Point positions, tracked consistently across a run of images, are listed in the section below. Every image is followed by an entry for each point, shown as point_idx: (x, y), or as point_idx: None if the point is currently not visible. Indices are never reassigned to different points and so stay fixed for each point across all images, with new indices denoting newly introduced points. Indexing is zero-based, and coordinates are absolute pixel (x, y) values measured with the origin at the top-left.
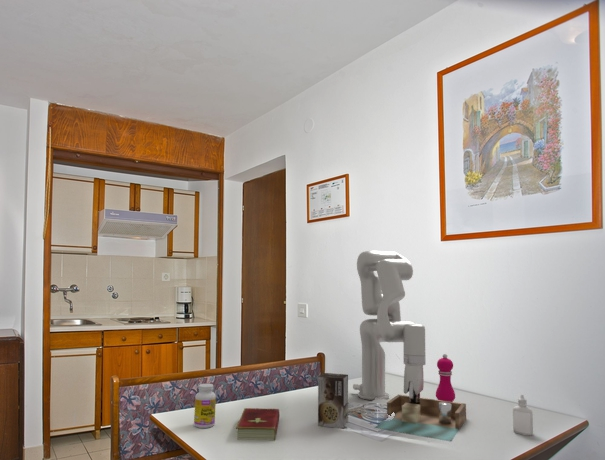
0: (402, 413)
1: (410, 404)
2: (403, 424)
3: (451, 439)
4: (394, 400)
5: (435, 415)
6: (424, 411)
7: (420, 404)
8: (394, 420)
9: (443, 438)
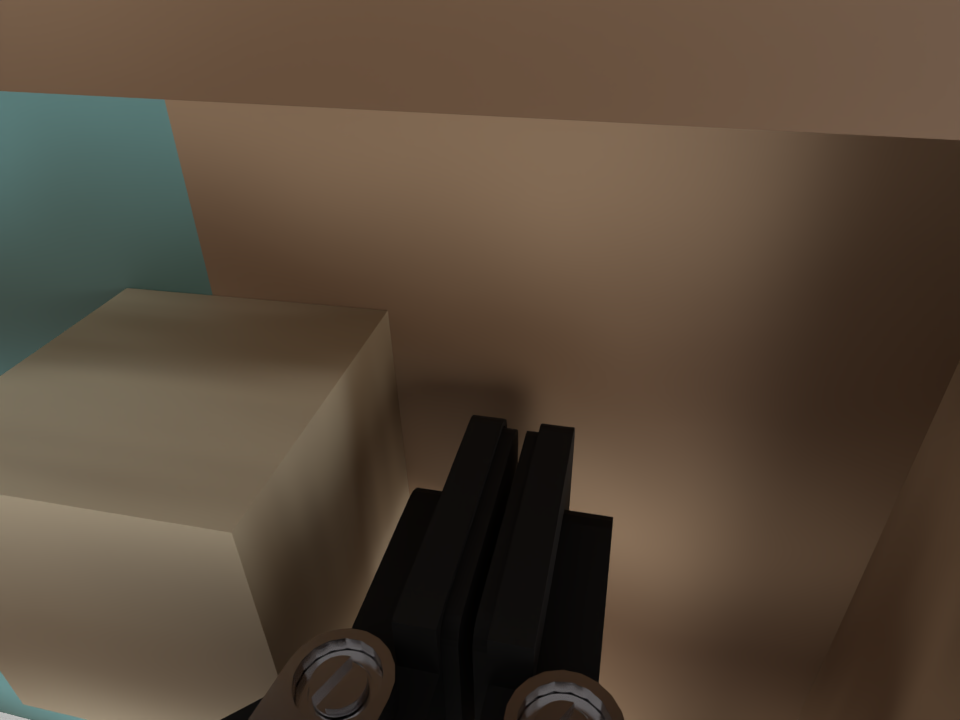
0: (22, 374)
1: (156, 626)
2: (16, 335)
3: (34, 717)
4: (291, 100)
5: (779, 695)
6: (871, 604)
7: (946, 674)
8: (66, 148)
9: (1, 677)
